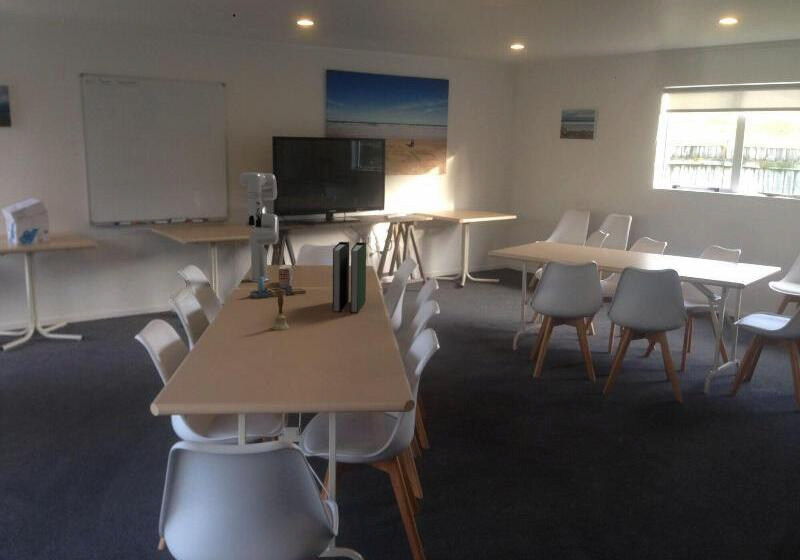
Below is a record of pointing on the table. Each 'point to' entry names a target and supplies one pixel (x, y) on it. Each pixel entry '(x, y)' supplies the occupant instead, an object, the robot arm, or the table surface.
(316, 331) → the table surface
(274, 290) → the socket
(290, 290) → the gray rectangular block
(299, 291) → the board
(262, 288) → the dowel
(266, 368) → the table surface
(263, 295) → the tray
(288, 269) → the stack of blocks
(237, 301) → the table surface
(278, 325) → the hand bell
